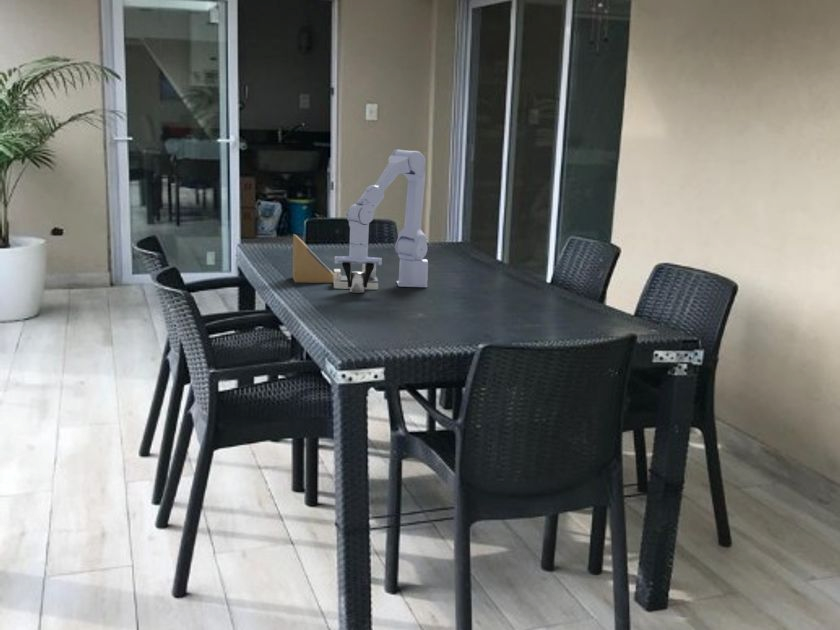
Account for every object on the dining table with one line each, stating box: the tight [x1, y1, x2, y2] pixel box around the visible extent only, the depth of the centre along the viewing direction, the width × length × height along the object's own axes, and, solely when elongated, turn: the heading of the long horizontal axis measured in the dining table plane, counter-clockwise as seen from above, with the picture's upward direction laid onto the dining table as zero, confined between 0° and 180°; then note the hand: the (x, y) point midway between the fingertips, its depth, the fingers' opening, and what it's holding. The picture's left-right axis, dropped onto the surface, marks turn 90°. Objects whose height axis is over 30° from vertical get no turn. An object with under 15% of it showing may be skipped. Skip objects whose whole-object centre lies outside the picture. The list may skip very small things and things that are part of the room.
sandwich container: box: [292, 233, 334, 283], centre depth 287 cm, size 9×15×15 cm, turn 104°
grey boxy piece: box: [332, 268, 379, 290], centre depth 281 cm, size 14×9×5 cm, turn 97°
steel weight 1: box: [349, 270, 365, 294], centre depth 272 cm, size 4×4×6 cm
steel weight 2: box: [361, 264, 377, 280], centre depth 281 cm, size 4×4×6 cm
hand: (357, 286), depth 272 cm, fingers closed on steel weight 1, 4 cm apart
